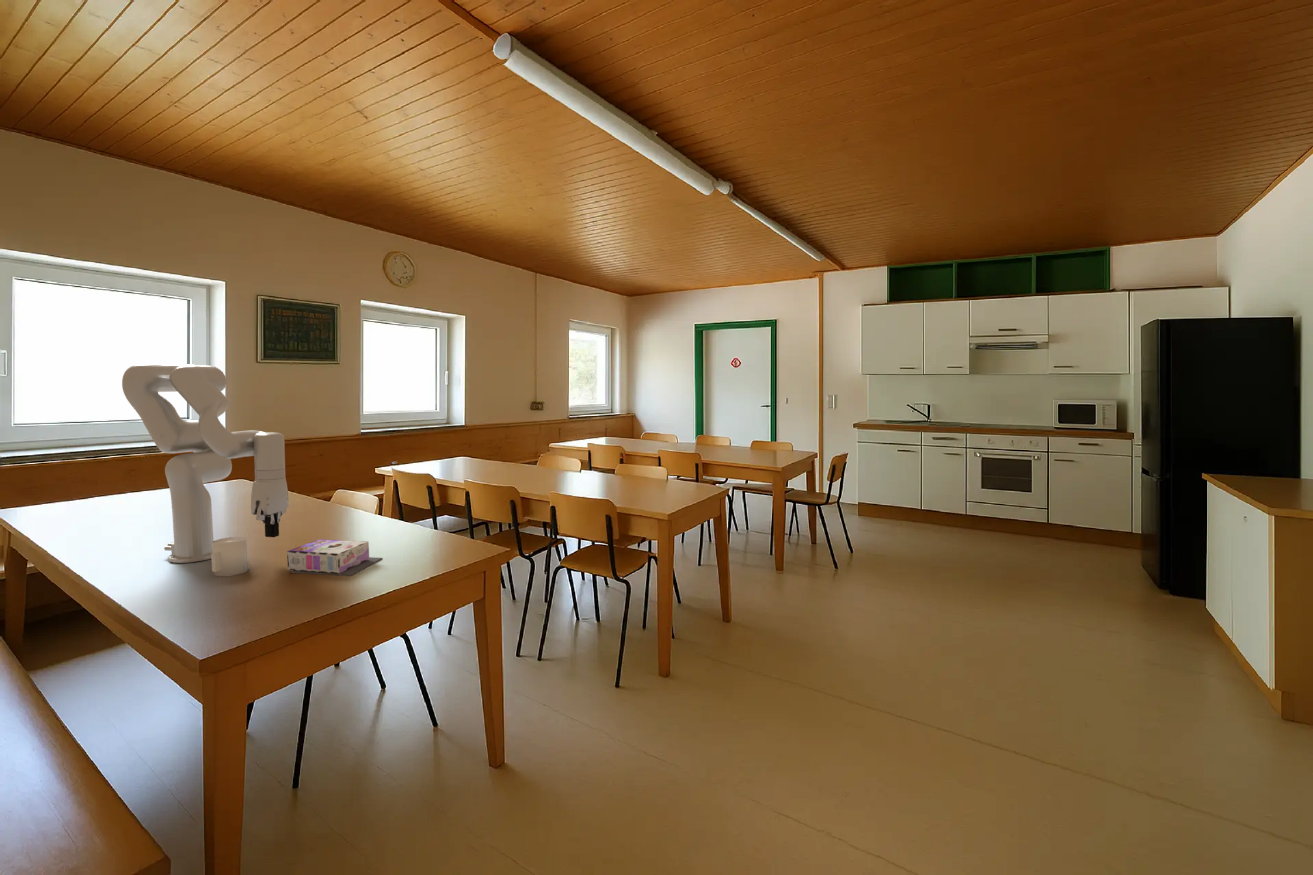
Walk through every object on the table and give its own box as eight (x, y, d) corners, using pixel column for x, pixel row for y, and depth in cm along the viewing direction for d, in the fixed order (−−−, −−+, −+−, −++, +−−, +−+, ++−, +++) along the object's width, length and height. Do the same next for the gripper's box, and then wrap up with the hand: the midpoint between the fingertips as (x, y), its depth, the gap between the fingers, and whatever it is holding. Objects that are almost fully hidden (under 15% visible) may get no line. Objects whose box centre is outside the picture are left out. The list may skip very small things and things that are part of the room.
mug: (200, 577, 167) (198, 545, 166) (229, 566, 176) (227, 536, 176) (227, 579, 166) (226, 546, 165) (255, 568, 176) (253, 537, 175)
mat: (290, 573, 172) (290, 571, 172) (326, 556, 188) (326, 555, 187) (351, 575, 170) (351, 574, 170) (382, 559, 186) (382, 557, 186)
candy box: (286, 570, 173) (339, 574, 170) (285, 550, 172) (338, 553, 169) (321, 557, 186) (370, 560, 183) (320, 538, 186) (369, 540, 183)
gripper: (276, 470, 186) (278, 529, 188) (238, 478, 171) (240, 542, 173) (299, 471, 185) (301, 530, 187) (263, 479, 170) (265, 543, 172)
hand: (272, 536), depth 180 cm, fingers closed
